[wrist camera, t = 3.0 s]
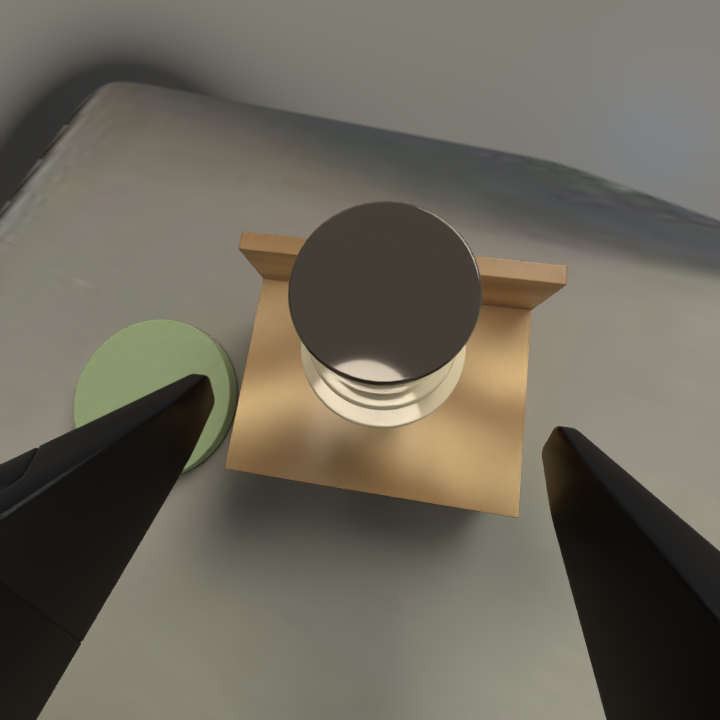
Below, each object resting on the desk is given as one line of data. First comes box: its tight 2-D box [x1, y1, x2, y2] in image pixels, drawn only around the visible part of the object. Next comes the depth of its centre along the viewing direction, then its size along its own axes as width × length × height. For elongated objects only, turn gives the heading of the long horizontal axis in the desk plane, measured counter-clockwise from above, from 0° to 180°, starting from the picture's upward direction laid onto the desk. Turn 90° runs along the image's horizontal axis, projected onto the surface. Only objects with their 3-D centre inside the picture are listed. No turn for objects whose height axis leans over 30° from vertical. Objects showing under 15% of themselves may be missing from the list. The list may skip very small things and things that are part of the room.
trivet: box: [73, 320, 237, 474], centre depth 19 cm, size 9×9×1 cm
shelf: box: [225, 232, 567, 518], centre depth 16 cm, size 10×13×6 cm
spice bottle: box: [288, 201, 482, 429], centre depth 10 cm, size 4×4×11 cm
